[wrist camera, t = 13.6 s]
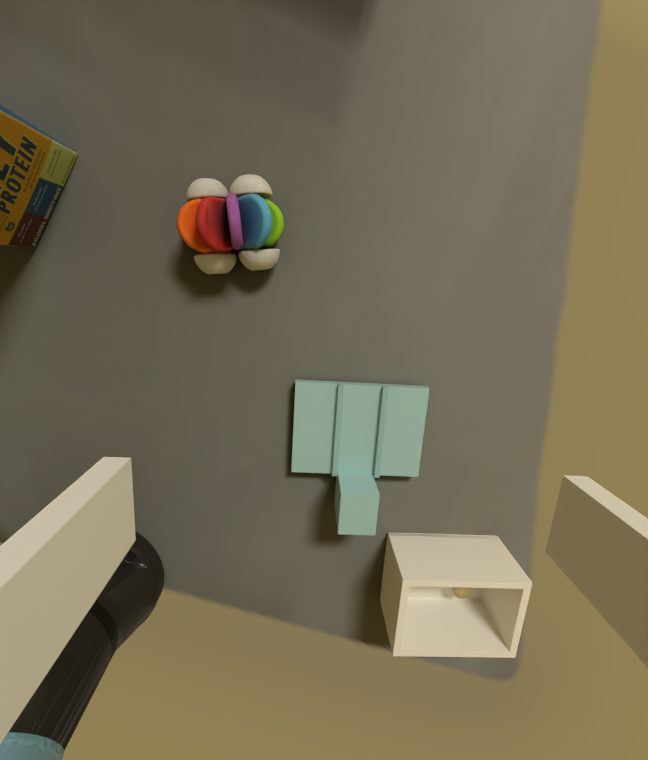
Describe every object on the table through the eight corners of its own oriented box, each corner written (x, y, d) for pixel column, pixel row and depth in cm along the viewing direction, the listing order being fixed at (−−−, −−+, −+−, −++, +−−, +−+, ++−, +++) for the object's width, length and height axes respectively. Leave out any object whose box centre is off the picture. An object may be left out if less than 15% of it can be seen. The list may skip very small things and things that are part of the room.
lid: (290, 500, 47) (287, 532, 41) (296, 377, 44) (293, 393, 38) (409, 504, 48) (424, 536, 42) (424, 384, 44) (443, 400, 38)
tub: (379, 599, 51) (392, 655, 43) (387, 532, 49) (403, 579, 41) (484, 601, 52) (515, 657, 44) (497, 535, 50) (532, 582, 42)
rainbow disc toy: (182, 187, 38) (154, 166, 31) (280, 179, 39) (274, 157, 32) (196, 276, 41) (172, 275, 34) (289, 268, 41) (285, 266, 34)
